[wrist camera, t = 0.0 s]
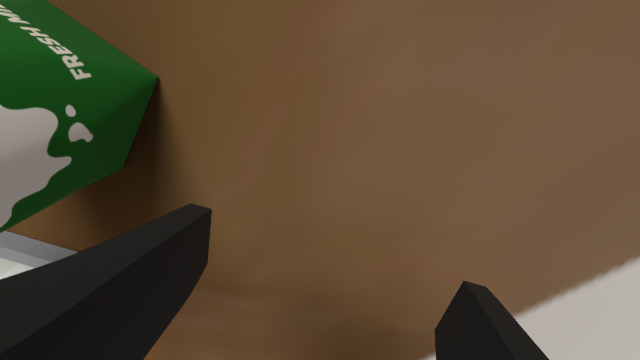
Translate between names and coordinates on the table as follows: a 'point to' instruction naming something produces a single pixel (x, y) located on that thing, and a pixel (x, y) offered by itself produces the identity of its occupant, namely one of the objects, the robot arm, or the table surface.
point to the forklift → (30, 250)
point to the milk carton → (61, 107)
